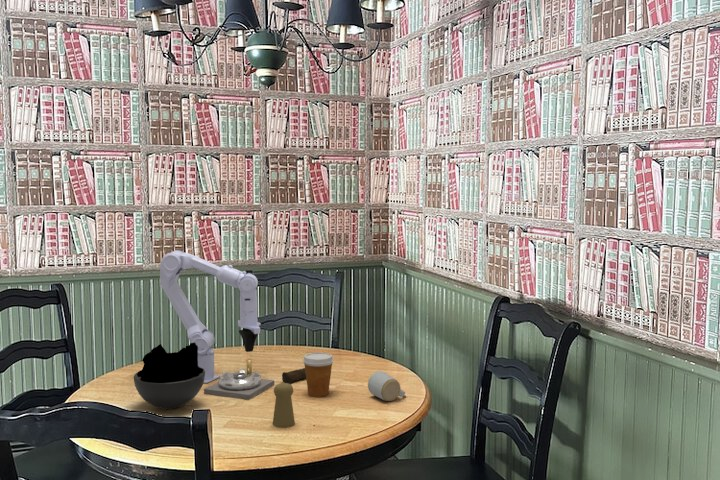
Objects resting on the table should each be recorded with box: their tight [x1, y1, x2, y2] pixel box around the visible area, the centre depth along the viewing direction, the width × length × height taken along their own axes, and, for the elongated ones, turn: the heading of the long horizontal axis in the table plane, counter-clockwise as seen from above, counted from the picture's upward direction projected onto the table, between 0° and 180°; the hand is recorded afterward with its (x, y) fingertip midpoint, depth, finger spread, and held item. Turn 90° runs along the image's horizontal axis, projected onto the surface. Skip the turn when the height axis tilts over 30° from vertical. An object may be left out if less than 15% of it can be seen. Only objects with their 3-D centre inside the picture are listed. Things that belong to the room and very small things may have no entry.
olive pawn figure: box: [272, 382, 296, 429], centre depth 181 cm, size 6×6×11 cm
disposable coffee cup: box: [302, 352, 334, 398], centre depth 207 cm, size 10×10×12 cm
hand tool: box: [281, 367, 306, 384], centre depth 224 cm, size 19×4×5 cm, turn 132°
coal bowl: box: [133, 343, 205, 410], centre depth 194 cm, size 20×20×19 cm
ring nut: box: [218, 358, 262, 390], centre depth 211 cm, size 13×13×6 cm
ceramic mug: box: [367, 370, 406, 402], centre depth 204 cm, size 11×8×8 cm
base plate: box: [203, 378, 275, 401], centre depth 212 cm, size 16×16×2 cm
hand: (249, 351), depth 222 cm, fingers closed
